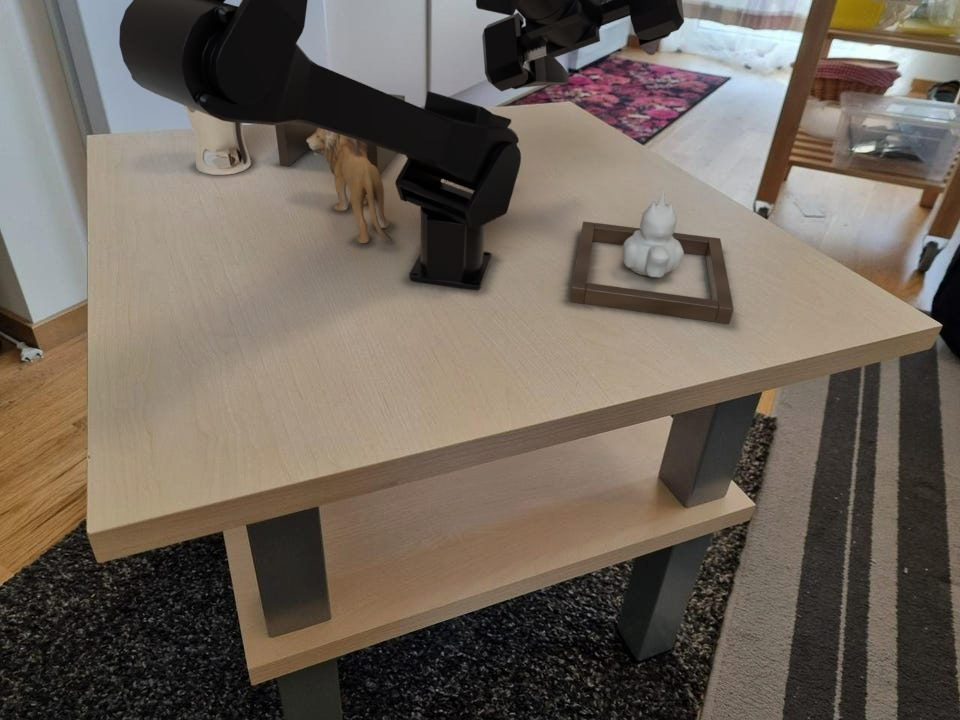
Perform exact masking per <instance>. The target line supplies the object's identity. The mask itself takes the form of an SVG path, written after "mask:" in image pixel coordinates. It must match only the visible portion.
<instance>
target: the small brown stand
mask: <svg viewBox="0 0 960 720" xmlns="http://www.w3.org/2000/svg"><path fill="white" fill-rule="evenodd" d="M388 94H389V95H392V96H394V97H396V98H399V99H401V100H404V101H406V95H403V94H402V95H401V94H392V93H388ZM274 127H275V134H276V144H277V153H278V160H279V165H280V166H284V167H290V166H292V164H294V163H295V162H296V161H297V160H298V159H299V158H301V156H303V155H304V154H305V153H306V152H307V151H308V150H309V149H311V148H310V146H309V143H307V141H306V140H307V139H308V138H309V137H310V136H312V135H313V134H314V133H316V131H317V129H318V127H315V126H312V125H309V124H305V123H302V122H290V123H285V124H279V125H274ZM366 150H367V159H368V160H369V161H370V163H371V164H372V165H374V166H375V167H376V168H377V169H378V172H379V174H380V175H381V174H382V172H383V171H384V170H385V169H386V167H387V166H388V165H389V164H390V162H392V160H393V159H394V157H395V156H397V155H398V153H397V152H394V151H391V150H387V149H384V148H381V147H378V146H375V145H372V144H369V143H366Z"/></svg>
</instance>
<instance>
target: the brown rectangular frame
mask: <svg viewBox="0 0 960 720" xmlns="http://www.w3.org/2000/svg"><path fill="white" fill-rule="evenodd" d="M637 230H641V229H640V227H634V226H624V225H616V224H609V223H601V222H591V221H582V225H581V231H580V238H579V243H578V250H577V255H576V261H575V266H574V272H573V279H572V283H571V284H572V285H571V290H570V297H569V298H570V299H569V303H576V304H585V305H591V306H597V307H599V306H600V307H605V308H613V309H621V310H627V311H634V312H642V313H649V314H656V315H663V316H671V317H678V318H683V319H684V318H685V319H692V320H697V321H698V320H700V321H706V322H715V323H718V324H719V323H720V324H726V325H729V324H731V323H730V322H731V319H732V317H733V313H734V305H733V299H732V294H731V288H730V283H729V278H728V272H727V265H726V262H725V257H724V252H723V251H724V250H723V246H722V241H721V238H719V237H712V236H704V235H697V234H696V235H695V234H687V233H680V232H674V233H673V235H672V236H673V238H674V239H676V240H678V241H679V242H680V244H681V246H682V249H683V251H684V254H691V255H697V256H698V255H699V256H704V257H705V261H706V268H707V269H706V270H707V276H708V282H709V283H708V284H709V290H710V296H711V297H710V298H711V299H710V298H702V297H695V296H688V295H682V294H681V295H680V294H673V293H665V292H660V291H659V292H657V291H651V290H643V289H638V288H637V289H635V288H628V287H620V286H614V285H606V284H599V283H598V284H597V283H592V282H588V276H589V271H590V270H589V268H590V263H591V255H592V247H593V242H598V243H606V244H614V245H621V246H623V245H624V242H625V241H626V240H627V239H628V238H629V237H631V236H632V235H633V233H634V232H635V231H637Z"/></svg>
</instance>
